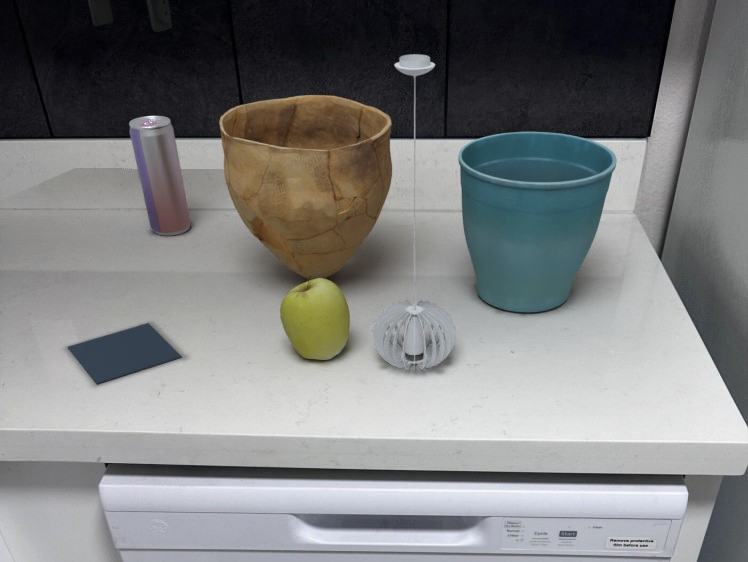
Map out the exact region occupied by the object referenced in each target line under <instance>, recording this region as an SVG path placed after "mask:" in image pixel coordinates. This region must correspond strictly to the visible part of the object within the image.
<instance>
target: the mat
mask: <svg viewBox="0 0 748 562" xmlns="http://www.w3.org/2000/svg"><path fill="white" fill-rule="evenodd" d="M67 350H69V351H70V353H71V354H72V355H73V357H74V358H75V359H76V360H77V361H78V363H79V364H80V366H81V367H82V368H83V369H84V370H85V372H86V373H87V374H88V375H89V377H90V378H91V379H92V380H93V382H94V383H95V384H96V385H101V384H104V383H107V382H110V381H114V380H115V379H119V378H122V377H125V376H128V375H132V374H134V373H135V374H136V373H138V372H141V371H144V370H148V369H150V368H154V367H157V366H160V365H163V364H166V363H169V362H172V361H175V360H179V359H181V358H182V357H183V356H182V354H180V353H179V352H178V351H177V350H176V348H174V347H173V346H172V345H171V344H170V343H169V342H168V341H167V340H166V339H165V337H163V336H162V335H161V334H160V333H159V332H158V330H156V329H155V328H154V327H153V325H151V324H150V323H149V322H147V323H143V324H140V325H136V326H133V327H130V328H127V329H123V330H119V331H116V332H113V333H109V334H105V335H102V336H99V337H96V338H92V339H89V340H85V341H83V342H79V343H75V344H72V345H68V346H67Z"/></svg>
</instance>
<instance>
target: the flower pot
mask: <svg viewBox="0 0 748 562" xmlns="http://www.w3.org/2000/svg"><path fill="white" fill-rule="evenodd" d="M457 156H458V161H457V162H458V164H459V171H460V172H459V173H460V174H459V176H460V188H461V189H460V190H461V213H462V214H461V216H462V226H463V234H464V238H465V243H466V246H467V250H468V252H469V256H470V260H471V263H472V266H473V270H474V275H475V279H476V282H475V283H476V284H475V289H476V293H477V295H478V296H479V298H481V300H483V301H484V302H485V303H487V304H489V305H490V306H492V307H495V308H496V309H497V308H498V309H501V310H504V311H509V312H514V313H515V312H517V313H538V312H539V313H541V312H544V311H549V310H550V311H551V310H553V309H556V308H557V307H559V306H561V305H563V304H564V303H565V302H566V301H567V300H568V298H569V297H570V294H571V288H572V285H573V282H574V280H575V279H576V277H577V274H578V272H579V270H580V268H581V266H582V264H583V263H584V261H585V259H586V257H587V255H588V254H589V252H590V249H591V247H592V245H593V242H594V240H595V238H596V235H597V233H598V229H599V225H600V222H601V219H602V215H603V210H604V207H605V203H606V197H607V195H608V192H609V189H610V185H611V181H612V176H613V173H614V171H615V169H616V167H617V162H618V159H617V156H616V154H615V153H614V152H613V150H611V149H610V148H608V146H606V145H604V144H602V143H600V142H597V141H594V140H592V139H587V138H585V137H581V136H576V135H571V134H565V133H559V132H558V133H557V132H547V131H516V132H515V131H514V132H505V133H497V134H491V135H487V136H484V137H480V138H477V139H474V140H472V141H470V142H468V143H466V144H465V145H464V146H463V147H462V148H460V150H459V152H458V155H457Z"/></svg>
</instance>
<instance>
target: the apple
mask: <svg viewBox="0 0 748 562" xmlns="http://www.w3.org/2000/svg"><path fill="white" fill-rule="evenodd" d="M310 278H311V276H310V277H309V279H308V281H305V282H302V283H300V284H298V285H296V286H295V287H293V288H291V289H290V290H289V291H288V292H287V294H286V295H285V296H284V297H283V299H282V300H281V303H280V307H279V315H280V321H281V325H282V328H283V330H284V333H285V335H286V336H287V338H288V340H289V342H290V343H291V345H292V347H293V349H294V350H296V352H297V353H298V354H299V355H300V356H301V357H302V358H304V359H307V360H318V361H319V360H320V361H321V360H322V361H323V360H325V361H326V360H327V361H328V360H331V359H333V358H334V357H336V356H337V355H339V354H340V353H341V352H342V350H343V349H344V348H345V346H346V345H347V342H348V339H349V336H350V335H349V334H350V327H351V326H350V325H351V316H350V308H349V304H348V301H347V299H346V296H345V294H344V293H343V291H342V290H341V289H340V287H339V286H338V285H337V284H336V283H334V282H333V281H331V280H329V279H327V278H317V279H313V280H310Z"/></svg>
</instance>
